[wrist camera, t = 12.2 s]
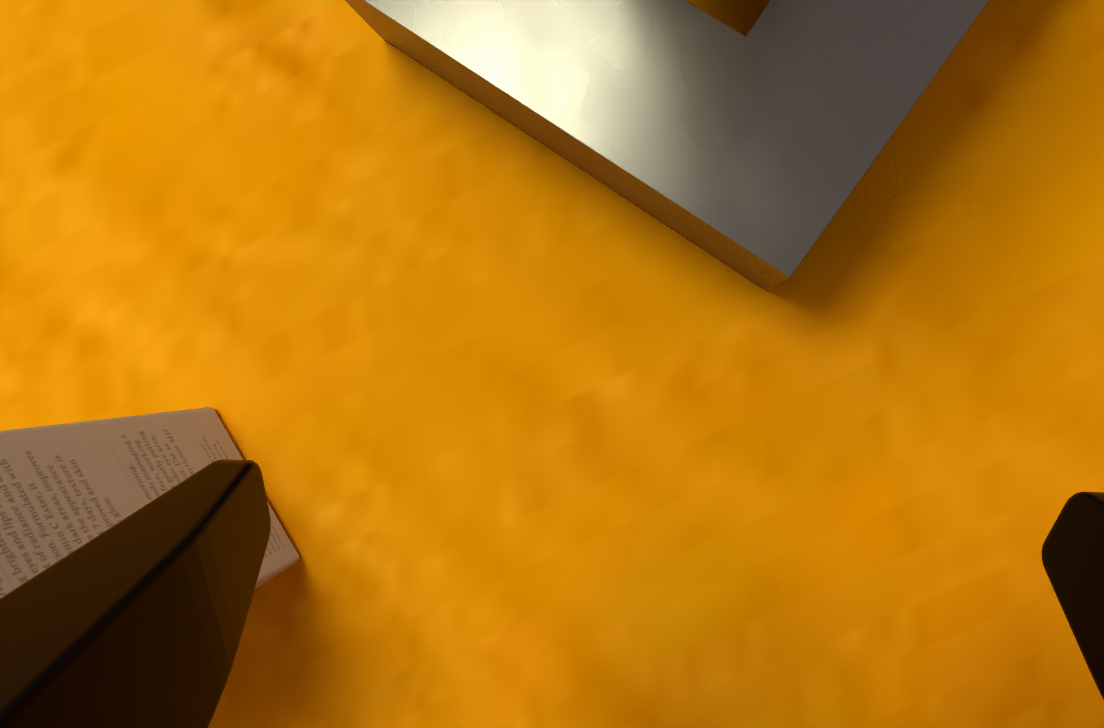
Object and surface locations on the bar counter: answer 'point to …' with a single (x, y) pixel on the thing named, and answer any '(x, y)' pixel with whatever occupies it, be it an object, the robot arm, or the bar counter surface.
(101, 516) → the small box
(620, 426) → the bar counter surface
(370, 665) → the bar counter surface
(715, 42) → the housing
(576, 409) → the bar counter surface
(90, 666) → the robot arm
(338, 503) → the bar counter surface
